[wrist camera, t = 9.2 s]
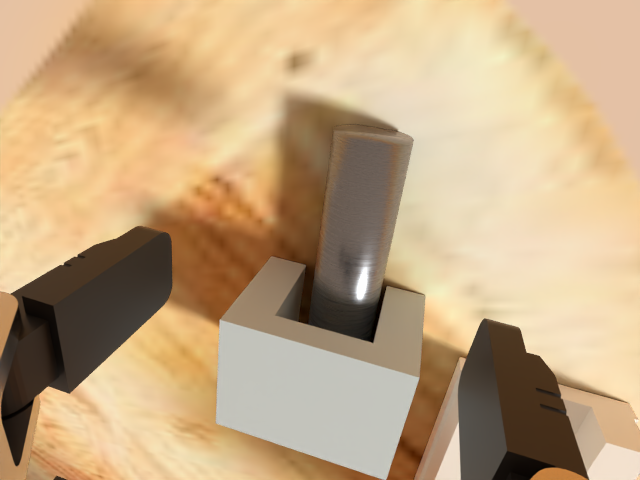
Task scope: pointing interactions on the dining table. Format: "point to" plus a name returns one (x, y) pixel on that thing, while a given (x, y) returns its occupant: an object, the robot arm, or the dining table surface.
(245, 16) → the dining table surface
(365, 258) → the axle
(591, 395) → the cradle
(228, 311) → the bearing block
